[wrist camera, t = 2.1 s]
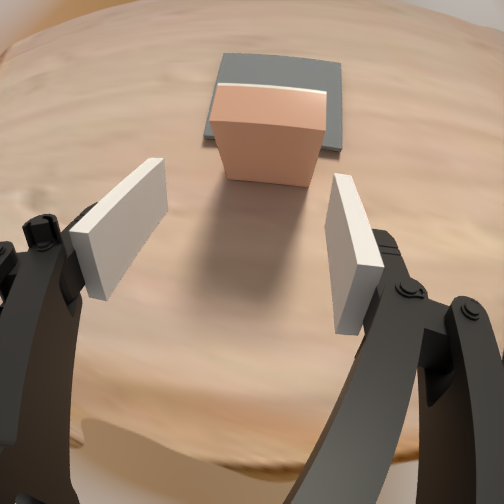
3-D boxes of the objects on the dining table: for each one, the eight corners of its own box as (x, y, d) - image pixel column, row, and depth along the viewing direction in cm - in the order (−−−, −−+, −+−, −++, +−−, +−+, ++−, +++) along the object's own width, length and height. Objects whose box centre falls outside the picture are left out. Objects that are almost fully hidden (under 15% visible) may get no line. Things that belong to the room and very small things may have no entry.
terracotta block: (308, 187, 35) (325, 130, 23) (227, 179, 35) (209, 120, 24) (311, 155, 35) (326, 91, 24) (232, 147, 36) (217, 82, 24)
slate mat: (340, 151, 35) (342, 148, 34) (204, 138, 36) (203, 135, 36) (339, 66, 38) (340, 63, 37) (224, 56, 39) (223, 53, 38)
